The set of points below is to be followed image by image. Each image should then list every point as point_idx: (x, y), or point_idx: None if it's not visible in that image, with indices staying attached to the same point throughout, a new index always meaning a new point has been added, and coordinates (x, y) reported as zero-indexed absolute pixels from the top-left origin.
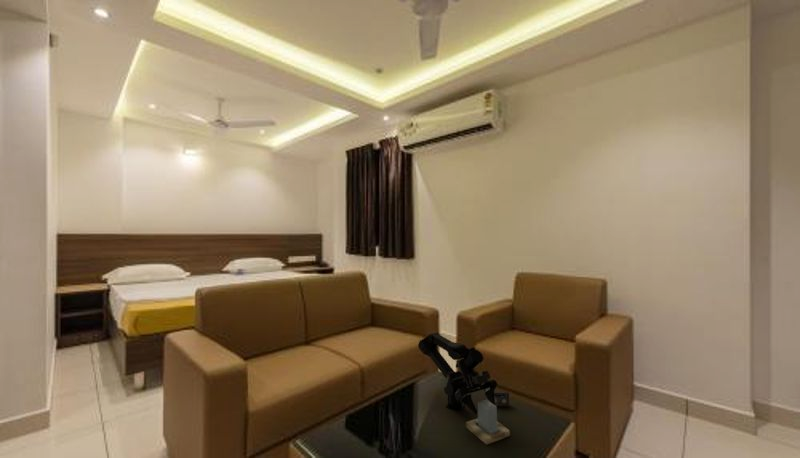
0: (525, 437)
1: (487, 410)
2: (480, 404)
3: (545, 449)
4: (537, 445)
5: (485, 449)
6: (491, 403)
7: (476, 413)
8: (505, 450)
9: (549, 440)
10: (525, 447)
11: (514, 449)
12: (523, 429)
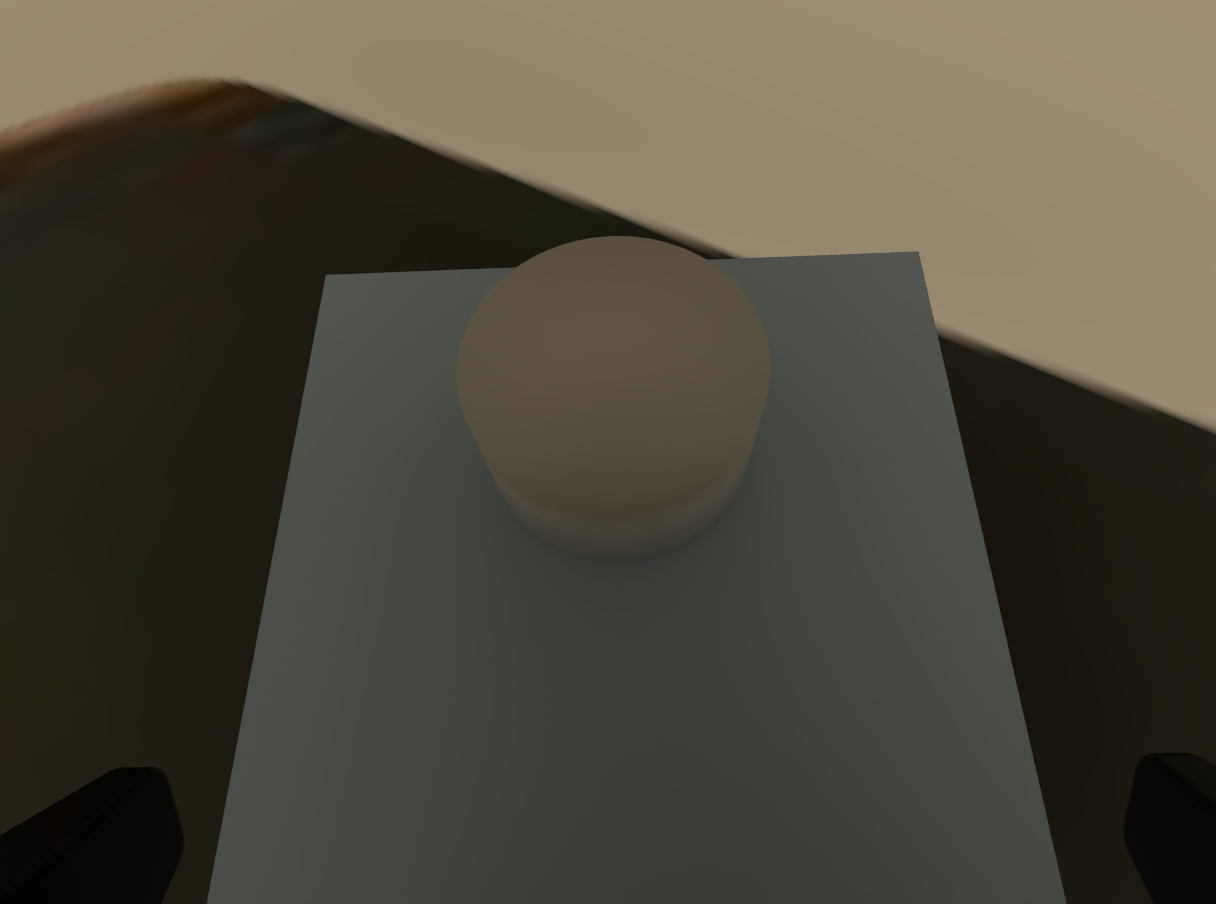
0: (223, 345)
1: (903, 280)
2: (1057, 885)
3: (244, 109)
4: (251, 182)
5: (967, 379)
6: (484, 323)
7: (1193, 771)
8: None
9: (40, 191)
10: (412, 208)
11: (570, 231)
12: (56, 499)
